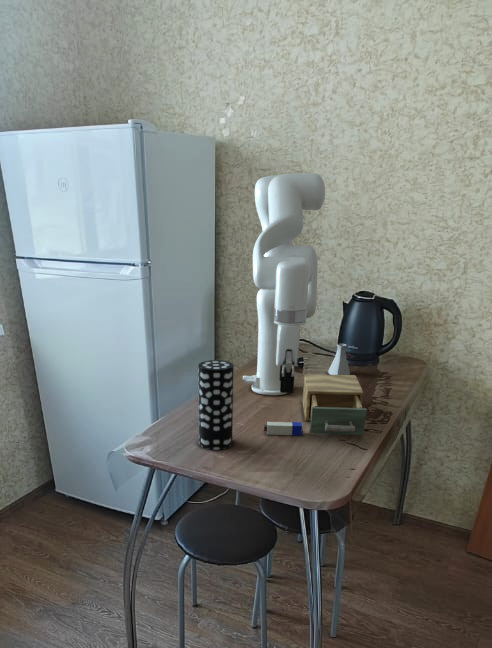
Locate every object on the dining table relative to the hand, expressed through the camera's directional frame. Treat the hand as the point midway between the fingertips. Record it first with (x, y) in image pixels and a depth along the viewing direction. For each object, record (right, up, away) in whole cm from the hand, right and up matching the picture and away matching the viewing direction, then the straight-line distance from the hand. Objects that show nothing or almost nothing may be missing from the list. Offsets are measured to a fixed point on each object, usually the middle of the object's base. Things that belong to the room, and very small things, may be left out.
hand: (286, 386), depth 144 cm
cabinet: (+15, -4, +20) cm, 25 cm away
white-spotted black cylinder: (-18, -14, +1) cm, 23 cm away
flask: (+25, +13, +53) cm, 60 cm away
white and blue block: (0, -11, +6) cm, 13 cm away
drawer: (+14, -10, +7) cm, 18 cm away
